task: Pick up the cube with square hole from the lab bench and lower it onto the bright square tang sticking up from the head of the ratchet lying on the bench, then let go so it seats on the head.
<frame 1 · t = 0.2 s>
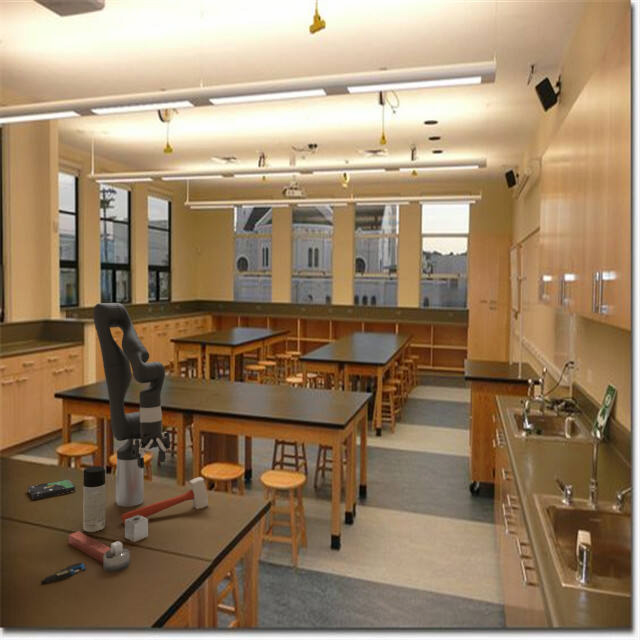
hand: (151, 464, 190), 17 cm above the table, tool pointing down, fingers open, 8 cm apart
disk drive: (51, 493, 208), on the table
mallet: (166, 515, 190), on the table
spray can: (94, 529, 178), on the table
micrometer: (63, 577, 149), on the table
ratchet: (116, 565, 154), on the table
cube with square hole: (136, 537, 172), on the table
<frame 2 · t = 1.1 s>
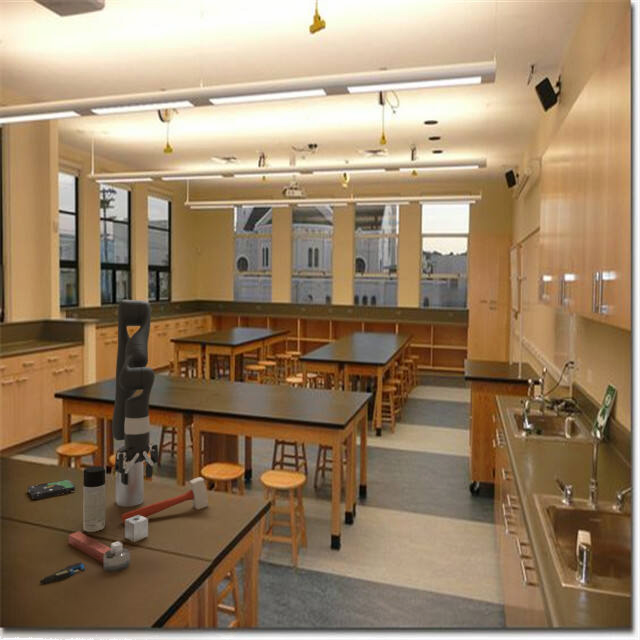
hand: (137, 480, 171), 18 cm above the table, tool pointing down, fingers open, 8 cm apart
nothing on the table moved.
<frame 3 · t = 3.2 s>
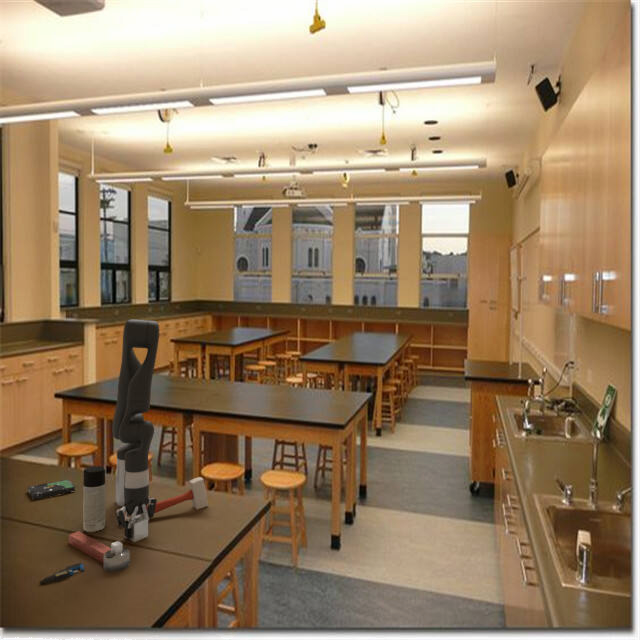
hand: (136, 535, 172), 1 cm above the table, tool pointing down, fingers closed on cube with square hole, 5 cm apart
cube with square hole: (136, 537, 172), on the table, touching gripper
everything else where it was.
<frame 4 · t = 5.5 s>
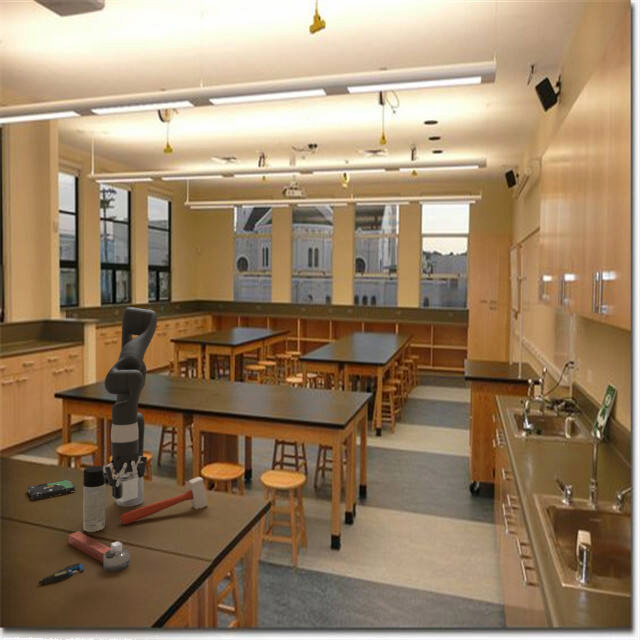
hand: (125, 495, 158), 19 cm above the table, tool pointing down, fingers closed on cube with square hole, 5 cm apart
cube with square hole: (125, 497, 158), point 18 cm above the table, touching gripper
everything else where it was.
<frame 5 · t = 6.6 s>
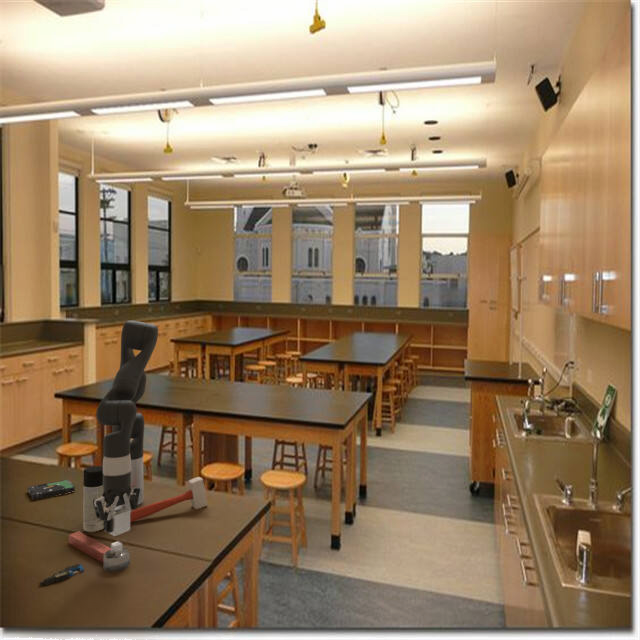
hand: (117, 528, 154), 11 cm above the table, tool pointing down, fingers closed on cube with square hole, 5 cm apart
cube with square hole: (117, 530, 154), point 10 cm above the table, touching gripper
everything else where it was.
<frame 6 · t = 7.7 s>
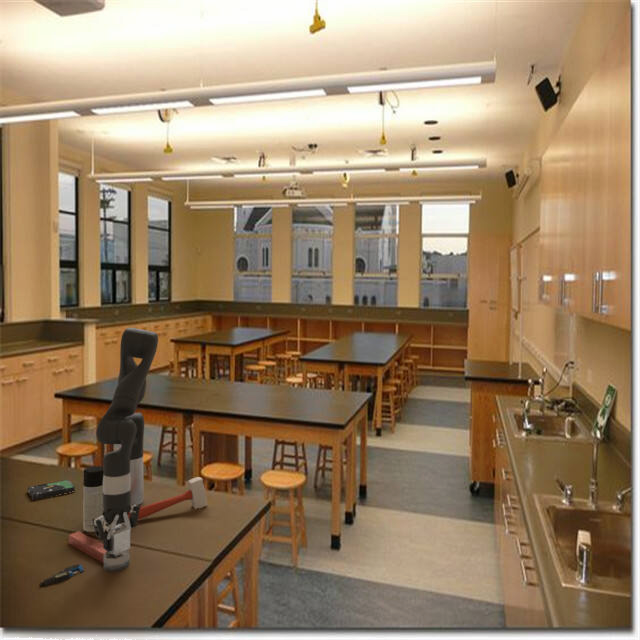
hand: (116, 546, 154), 5 cm above the table, tool pointing down, fingers closed on cube with square hole, 5 cm apart
cube with square hole: (117, 548, 154), point 5 cm above the table, touching gripper
everything else where it was.
when the fingers open (5 cm above the table, at t = 8.2 s): cube with square hole stays where it is, resting on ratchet.
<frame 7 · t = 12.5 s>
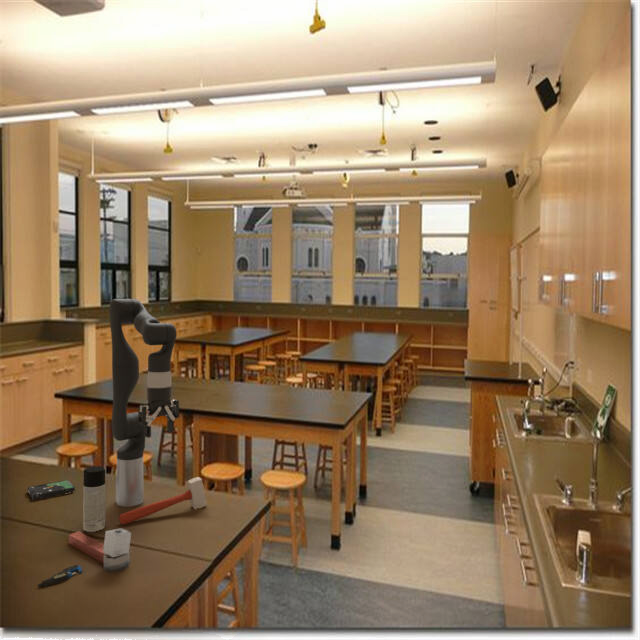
hand: (159, 434, 175), 32 cm above the table, tool pointing down, fingers open, 8 cm apart
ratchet: (116, 565, 154), on the table, touching cube with square hole
cube with square hole: (115, 552, 154), point 4 cm above the table, tilted 8°, touching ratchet
at the end: cube with square hole 0.3 cm off-centre on the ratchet, point 3.9 cm above the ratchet's base; cube with square hole tilted 8°; the gripper is holding nothing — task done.
